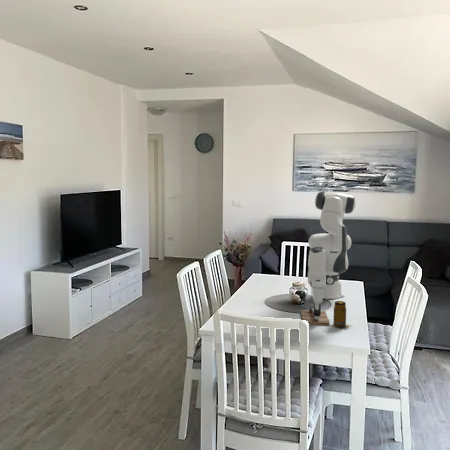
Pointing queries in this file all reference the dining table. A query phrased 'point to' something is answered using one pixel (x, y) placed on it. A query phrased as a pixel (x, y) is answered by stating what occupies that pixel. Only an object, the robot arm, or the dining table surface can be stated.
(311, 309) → the lever
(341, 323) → the condiment
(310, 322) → the board
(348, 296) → the dining table surface
